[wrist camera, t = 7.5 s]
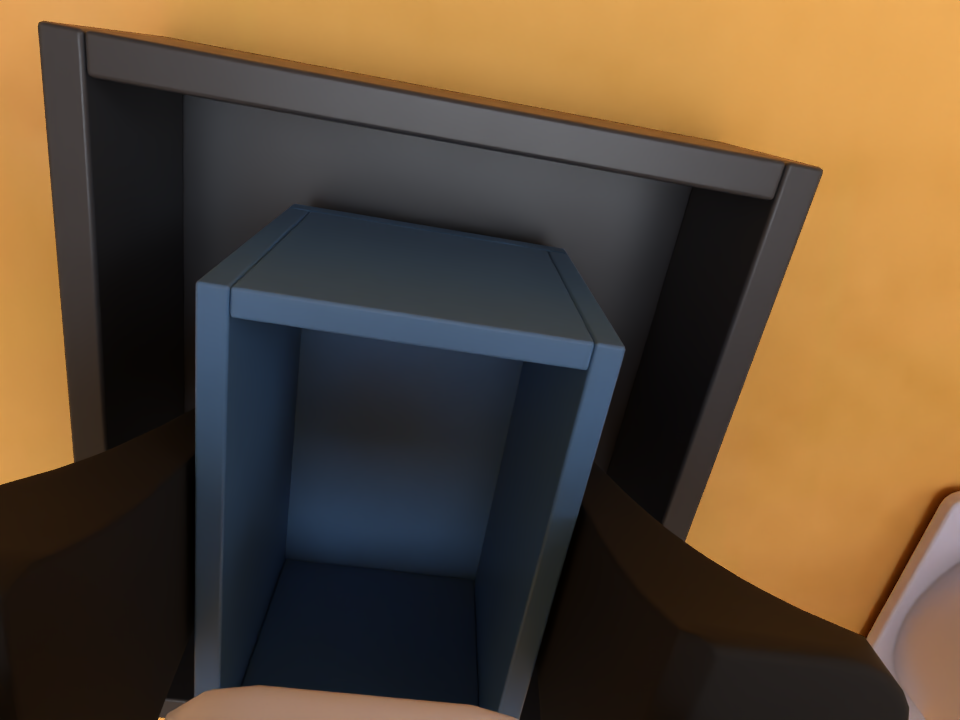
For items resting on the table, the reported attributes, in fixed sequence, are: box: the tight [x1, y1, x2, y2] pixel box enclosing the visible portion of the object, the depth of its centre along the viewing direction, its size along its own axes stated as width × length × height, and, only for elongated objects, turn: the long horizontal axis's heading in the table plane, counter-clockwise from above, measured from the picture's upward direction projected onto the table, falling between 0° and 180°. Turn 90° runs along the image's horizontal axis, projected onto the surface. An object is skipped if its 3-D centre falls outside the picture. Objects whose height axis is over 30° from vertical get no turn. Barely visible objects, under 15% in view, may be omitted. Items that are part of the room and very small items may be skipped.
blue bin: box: [194, 204, 625, 720], centre depth 12 cm, size 8×5×5 cm, turn 170°
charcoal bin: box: [38, 21, 823, 720], centre depth 14 cm, size 11×13×4 cm
